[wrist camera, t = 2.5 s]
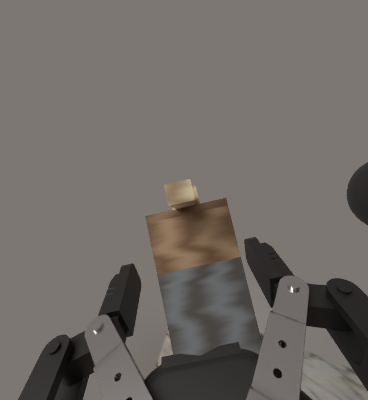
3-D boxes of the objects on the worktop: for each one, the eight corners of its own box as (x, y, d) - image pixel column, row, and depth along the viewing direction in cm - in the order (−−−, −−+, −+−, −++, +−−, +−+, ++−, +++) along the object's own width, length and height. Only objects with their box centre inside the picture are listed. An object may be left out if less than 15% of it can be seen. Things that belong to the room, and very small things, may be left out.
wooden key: (199, 207, 41) (195, 190, 41) (203, 197, 21) (196, 166, 21) (176, 212, 41) (172, 196, 41) (159, 207, 21) (153, 176, 21)
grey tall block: (251, 352, 41) (215, 204, 45) (283, 429, 26) (225, 197, 30) (192, 364, 42) (161, 216, 45) (192, 446, 27) (145, 216, 30)
